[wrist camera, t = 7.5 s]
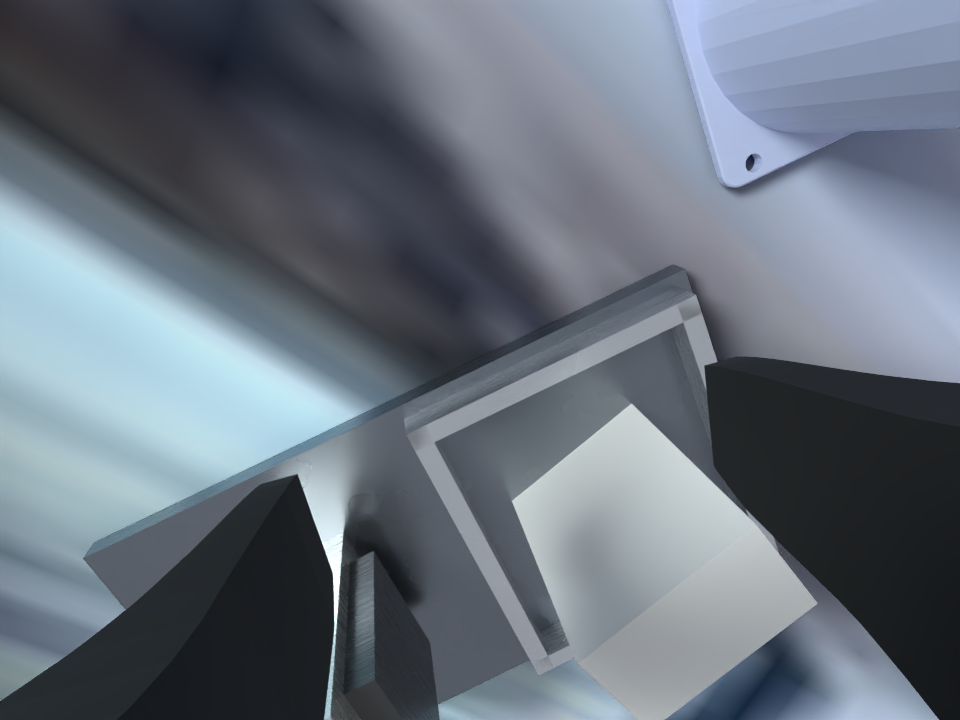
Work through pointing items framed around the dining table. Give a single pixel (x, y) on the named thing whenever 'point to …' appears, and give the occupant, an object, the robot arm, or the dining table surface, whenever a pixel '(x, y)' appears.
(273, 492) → the robot arm
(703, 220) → the dining table surface
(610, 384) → the grey hollow box
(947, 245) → the dining table surface
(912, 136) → the dining table surface
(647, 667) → the white matte cuboid
